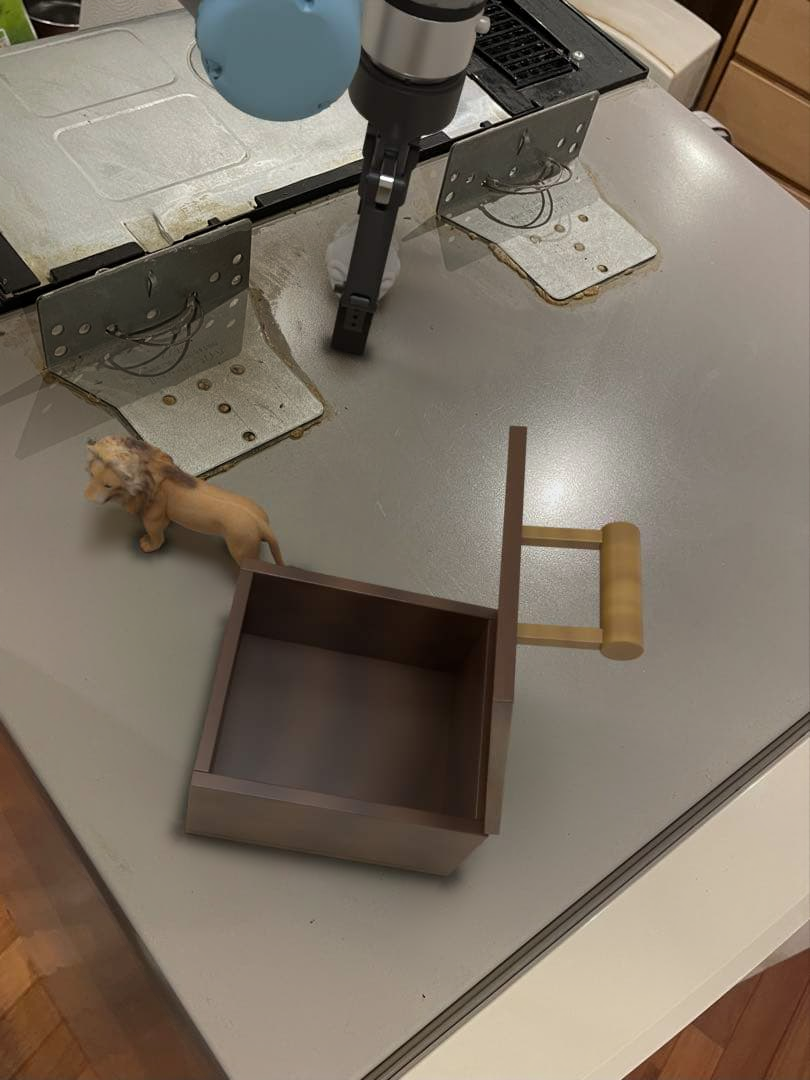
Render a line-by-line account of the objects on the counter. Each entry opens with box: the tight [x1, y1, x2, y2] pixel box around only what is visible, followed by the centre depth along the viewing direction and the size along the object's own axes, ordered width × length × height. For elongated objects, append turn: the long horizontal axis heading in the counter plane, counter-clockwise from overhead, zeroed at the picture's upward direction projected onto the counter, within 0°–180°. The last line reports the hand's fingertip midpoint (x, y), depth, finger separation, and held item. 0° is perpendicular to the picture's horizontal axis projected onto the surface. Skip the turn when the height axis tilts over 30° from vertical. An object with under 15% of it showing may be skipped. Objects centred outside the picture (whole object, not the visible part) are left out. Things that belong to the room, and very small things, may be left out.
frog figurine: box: [324, 213, 401, 301], centre depth 79 cm, size 6×7×7 cm
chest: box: [184, 558, 498, 877], centre depth 58 cm, size 16×14×9 cm
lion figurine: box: [82, 433, 305, 570], centre depth 63 cm, size 15×5×9 cm, turn 79°
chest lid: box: [484, 425, 645, 836], centre depth 48 cm, size 16×14×6 cm
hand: (357, 293), depth 82 cm, fingers open, 12 cm apart
